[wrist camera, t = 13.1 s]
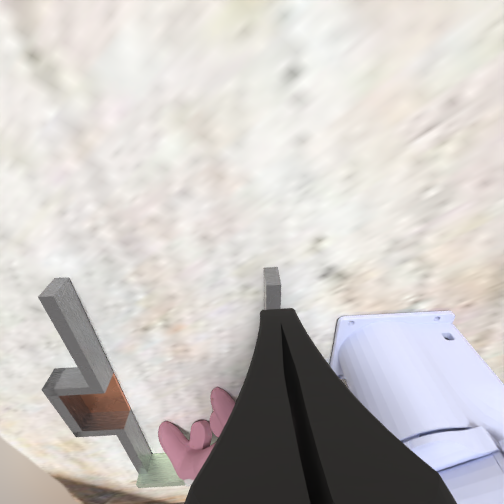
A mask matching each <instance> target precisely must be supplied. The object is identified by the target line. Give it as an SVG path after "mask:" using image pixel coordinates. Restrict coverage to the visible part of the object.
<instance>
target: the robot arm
mask: <svg viewBox="0 0 504 504" xmlns="http://www.w3.org/2000/svg"><path fill="white" fill-rule="evenodd" d="M454 318H455V315H454V313H453V312H452V311H433V312H414V313H394V314H375V315H356V316H342V317H340V318H339V319H338V323H337V328H336V334H335V340H334V345H333V351H332V357H331V362H330V366H329V364H328V363H327V362H326V360H325V359H324V358H323V356H322V355H321V353H320V352H319V351H318V349H317V348H316V346H315V345H314V343H313V342H312V340H311V339H310V337H309V335H308V334H307V332H306V330H305V329H304V327H303V325H302V323H301V322H300V320H299V318H298V316H297V314H296V312H295V310H294V309H293V308H288V309H268V310H262V311H261V312H260V327H259V333H258V338H257V342H256V346H255V350H254V354H253V357H252V361H251V364H250V367H249V370H248V373H247V376H246V379H245V381H244V384H243V386H242V389H241V391H240V394H239V396H238V399H237V401H236V403H235V405H234V407H233V410H232V412H231V414H230V416H229V418H228V420H227V422H226V424H225V426H224V428H223V430H222V432H221V434H220V436H219V438H218V440H217V441H216V443H215V445H214V447H213V449H212V451H211V453H210V454H209V456H208V458H207V459H206V461H205V463H204V464H203V466H202V468H201V469H200V471H199V473H198V474H197V476H196V478H195V479H194V481H193V483H192V485H191V487H190V490H189V493H188V495H187V498H186V501H185V503H184V504H504V384H503V383H502V381H501V380H500V379H499V378H498V377H497V375H496V374H495V373H494V372H493V371H492V370H491V368H490V367H489V366H488V365H487V364H486V362H485V361H484V360H483V359H482V358H481V356H480V355H479V354H478V353H477V352H476V351H475V349H474V348H473V347H472V346H471V345H470V343H469V342H468V341H467V340H466V339H465V338H464V336H463V335H462V334H461V333H460V332H459V330H458V329H457V328H456V327H455V326H454V324H453V323H452V322H453V320H454ZM350 321H351V322H350ZM340 379H346V382H347V385H348V388H349V389H348V388H347V387H346V385H345V384H344V383H343V382H342V381H341V380H340Z"/></svg>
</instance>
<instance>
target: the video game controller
mask: <svg viewBox="0 0 504 504" xmlns="http://www.w3.org/2000/svg"><path fill="white" fill-rule="evenodd" d="M211 404H212V408H213V410H214V411H213V413H212V414H211V416H210V424H209V423H208V422H207V421H206V420H201V421H197V422H195V423H194V424H193V425H192V427H191V432H190V441H189V440H188V439H187V438H186V437H185V436H184V435H183V433H182V432H181V431H180V430H179V429H178V428H177V427H176V426H175V425H173V424H172V423H170V422H168V421H165V422H163V423H161V425H160V426H159V431H158V437H159V441H160V444H161V446H162V448H163V450H164V451H165V453H166V455H167V456H168V458H169V459H170V461H171V463H172V465H173V467H174V469H175V471H176V473H177V475H178V477H179V478H180V479H182V480H184V483H185V485H186V486H190V485H191V484H192V483H193V481H194V479H195V478H196V476H197V474H198V473H199V471H200V469H201V468H202V466H203V464H204V463H205V461H206V459H207V458H208V456H209V454H210V453H211V451H212V449H213V447H214V445H215V443H216V442H215V443H214V444H212V445H211V446H210V443H211V437H212V432H213V433H214V434H215V435H216V436H217V437H218V438H219V436H220V434H221V432H222V430H223V428H224V426H225V424H226V422H227V420H228V418H229V416H230V414H231V412H232V410H233V407H234V405H235V402H234V400H233V399H232V398H231V396H230V395H229V394H228V393H227V392H226V391H224V390H223V389H220V388H218V387H216V388H215V389H213V390H212V392H211ZM211 430H212V431H211Z"/></svg>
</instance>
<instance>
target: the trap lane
mask: <svg viewBox="0 0 504 504" xmlns="http://www.w3.org/2000/svg"><path fill="white" fill-rule="evenodd" d="M38 298H39V300H40V301H41V303H42V305H43V307H44V308H45V310H46V312H47V314H48V315H49V317H50V319H51V321H52V322H53V324H54V326H55V328H56V329H57V331H58V333H59V335H60V336H61V338H62V340H63V342H64V343H65V345H66V347H67V349H68V350H69V352H70V354H71V356H72V358H73V359H74V361H75V363H76V365H77V366H78V368H62V369H54V371H53V372H52V374H51V375H50V377H49V379H48V380H47V382H46V383H45V385H44V387H43V388H42V391H43V392H44V394H45V395H46V397H47V398H48V399H49V401H50V402H51V403H52V405H53V406H54V408H55V409H56V410H57V412H58V413H59V414H60V416H61V417H62V419H63V420H64V421H65V423H66V424H67V425H68V427H69V428H70V430H71V431H72V432H73V434H74V435H75V436H76V437H88V436H106V435H117V436H118V438H119V440H120V442H121V444H122V445H123V447H124V449H125V451H126V452H127V454H128V456H129V458H130V459H131V461H132V463H133V465H134V466H135V468H136V470H137V472H138V473H139V475H138V479H137V483H136V485H137V487H138V488H147V487H164V486H180V485H185V483H184V480H182V479H180V478H179V477H178V475H177V473H176V471H175V469H174V467H173V465H172V463H171V461H170V459H169V458H168V456H167V455H166V453H160V454H152V453H151V451H150V449H149V447H148V445H147V442H146V440H145V438H144V436H143V434H142V432H141V430H140V428H139V426H138V423H137V421H136V419H135V417H134V415H133V413H132V411H131V409H130V406H129V404H128V402H127V400H126V398H125V396H124V394H123V392H122V390H121V387H120V385H119V383H118V381H117V379H116V377H115V375H114V373H113V370H112V368H111V366H110V364H109V362H108V360H107V358H106V356H105V354H104V351H103V349H102V347H101V345H100V343H99V341H98V339H97V337H96V334H95V332H94V330H93V328H92V326H91V324H90V322H89V320H88V318H87V315H86V313H85V311H84V309H83V307H82V305H81V303H80V301H79V298H78V296H77V294H76V292H75V290H74V288H73V286H72V284H71V282H70V279H69V278H54V280H53V281H52V282H51V283H50V284H49V285H48V286H47V287H46V289H45V290H44V291H43V292H42V293H41V294H40V295H39V296H38ZM280 305H281V282H280V277H279V272H278V267H275V268H264V310H268V309H280ZM191 485H192V484H191Z"/></svg>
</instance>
